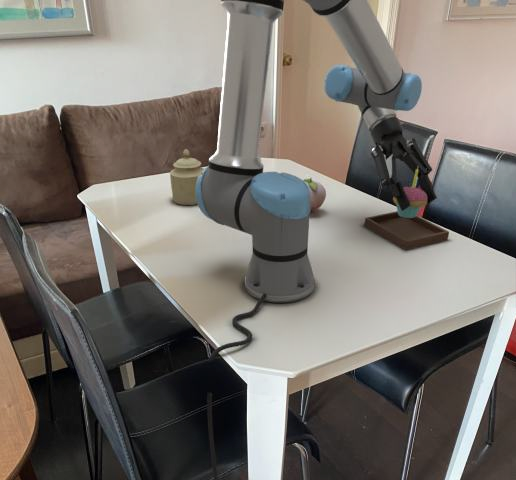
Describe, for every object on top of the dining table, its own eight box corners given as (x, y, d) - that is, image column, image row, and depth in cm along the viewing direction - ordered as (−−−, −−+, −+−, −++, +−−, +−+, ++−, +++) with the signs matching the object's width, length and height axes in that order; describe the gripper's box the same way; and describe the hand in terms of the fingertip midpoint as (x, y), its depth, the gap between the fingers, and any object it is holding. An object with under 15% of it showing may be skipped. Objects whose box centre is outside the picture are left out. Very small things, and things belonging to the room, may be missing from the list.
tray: (447, 240, 130) (449, 231, 128) (405, 250, 125) (406, 241, 124) (403, 217, 143) (404, 209, 141) (364, 225, 138) (364, 217, 137)
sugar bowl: (210, 188, 164) (207, 140, 155) (225, 199, 156) (223, 148, 147) (167, 196, 158) (161, 147, 149) (180, 207, 150) (175, 156, 141)
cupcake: (397, 206, 136) (404, 161, 129) (428, 212, 132) (437, 166, 125) (386, 217, 130) (393, 170, 123) (418, 223, 126) (427, 175, 119)
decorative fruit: (330, 214, 145) (333, 180, 139) (305, 219, 142) (307, 184, 136) (314, 204, 152) (315, 170, 146) (290, 208, 149) (291, 174, 143)
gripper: (404, 127, 136) (438, 203, 134) (343, 139, 127) (379, 220, 125) (422, 110, 129) (458, 188, 128) (359, 120, 120) (397, 205, 119)
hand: (419, 204), depth 127 cm, fingers closed on cupcake, 8 cm apart
